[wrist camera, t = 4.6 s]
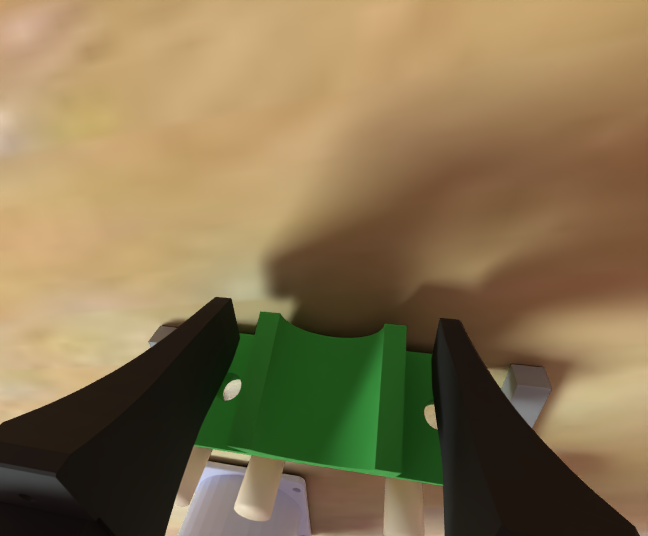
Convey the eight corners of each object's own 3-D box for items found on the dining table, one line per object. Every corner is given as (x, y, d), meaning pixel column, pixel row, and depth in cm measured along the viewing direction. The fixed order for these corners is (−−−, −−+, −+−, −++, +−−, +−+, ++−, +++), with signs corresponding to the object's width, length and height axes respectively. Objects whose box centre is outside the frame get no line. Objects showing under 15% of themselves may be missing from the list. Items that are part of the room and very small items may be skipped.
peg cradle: (499, 476, 19) (518, 570, 16) (195, 430, 22) (160, 502, 19) (552, 368, 15) (594, 471, 11) (154, 325, 17) (97, 398, 14)
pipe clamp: (499, 330, 12) (516, 492, 10) (471, 364, 16) (480, 492, 13) (182, 303, 14) (135, 436, 12) (217, 338, 17) (185, 448, 15)
